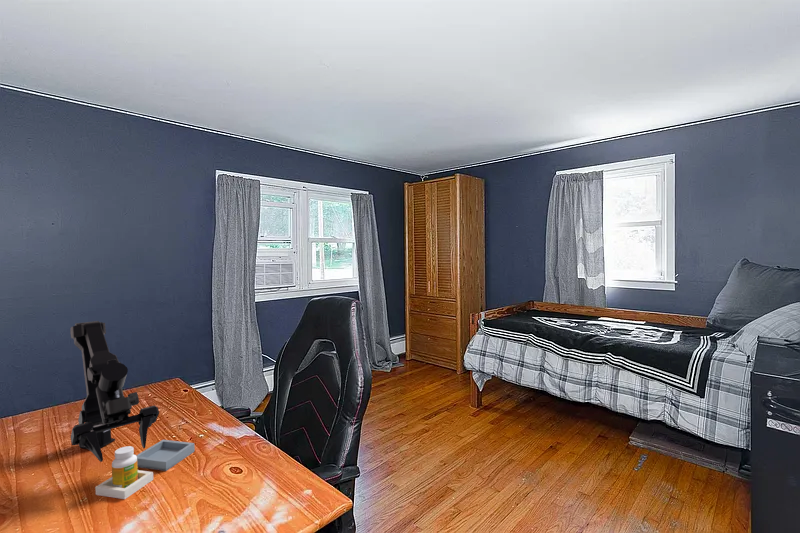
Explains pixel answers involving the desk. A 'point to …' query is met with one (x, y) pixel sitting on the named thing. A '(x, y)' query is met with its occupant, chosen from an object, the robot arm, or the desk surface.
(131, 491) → the holder collar
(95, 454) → the robot arm
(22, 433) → the desk surface
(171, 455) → the tray
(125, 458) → the supplement bottle
